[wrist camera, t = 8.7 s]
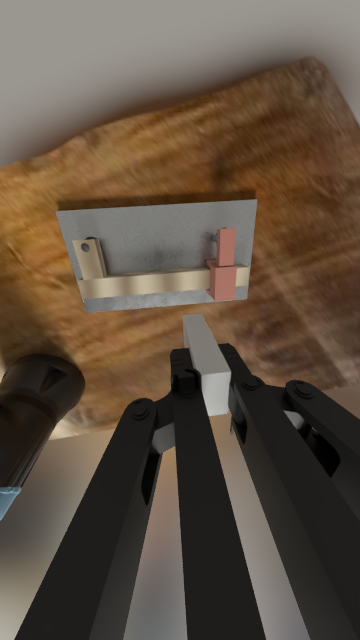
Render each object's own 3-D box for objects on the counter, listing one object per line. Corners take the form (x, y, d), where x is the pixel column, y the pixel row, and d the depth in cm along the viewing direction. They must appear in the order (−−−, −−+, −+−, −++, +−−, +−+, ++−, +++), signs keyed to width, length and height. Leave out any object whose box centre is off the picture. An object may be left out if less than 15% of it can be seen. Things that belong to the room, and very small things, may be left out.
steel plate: (88, 310, 34) (86, 313, 33) (58, 211, 27) (54, 211, 26) (244, 297, 35) (247, 299, 34) (254, 200, 28) (257, 199, 27)
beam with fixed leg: (89, 293, 31) (82, 299, 29) (74, 240, 28) (64, 241, 25) (240, 281, 33) (247, 285, 30) (245, 229, 29) (253, 228, 26)
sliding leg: (206, 291, 33) (214, 302, 27) (206, 230, 28) (216, 229, 23) (222, 290, 33) (234, 301, 27) (224, 229, 28) (239, 227, 23)
